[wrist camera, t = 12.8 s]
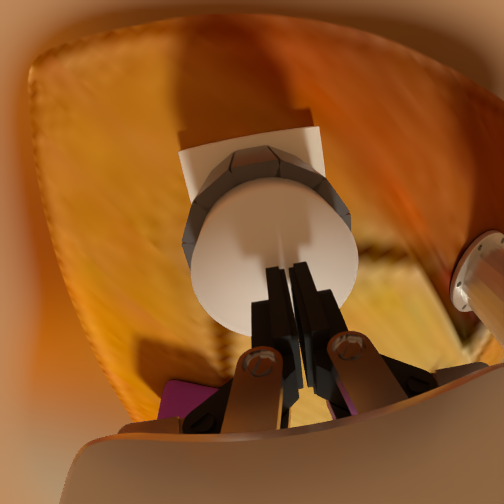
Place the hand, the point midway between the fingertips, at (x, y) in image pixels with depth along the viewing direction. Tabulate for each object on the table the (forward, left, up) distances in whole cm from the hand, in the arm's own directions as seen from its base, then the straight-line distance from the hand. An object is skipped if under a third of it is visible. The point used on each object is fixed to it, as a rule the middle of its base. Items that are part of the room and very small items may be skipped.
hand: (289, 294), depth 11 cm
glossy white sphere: (0, 0, -8) cm, 8 cm away
